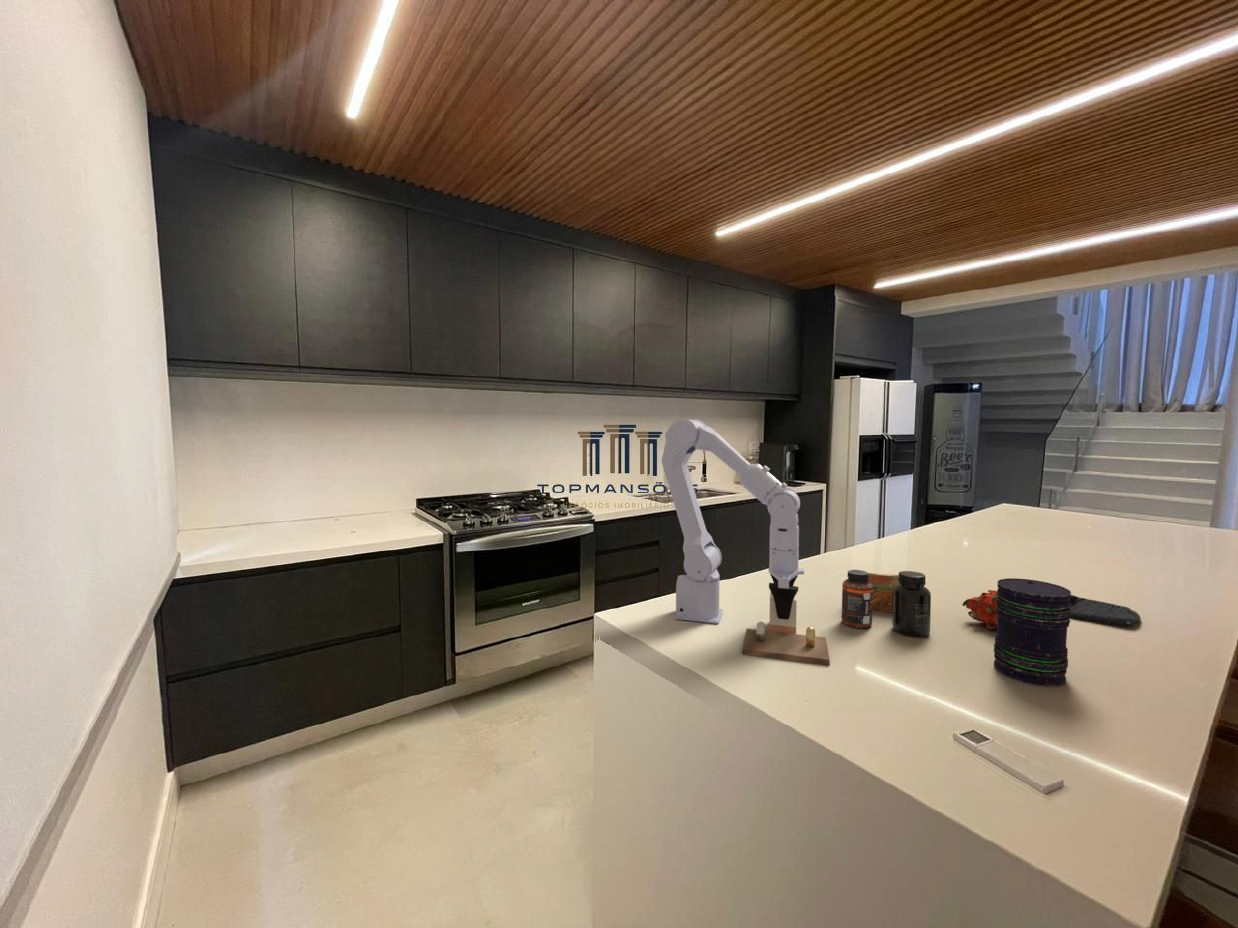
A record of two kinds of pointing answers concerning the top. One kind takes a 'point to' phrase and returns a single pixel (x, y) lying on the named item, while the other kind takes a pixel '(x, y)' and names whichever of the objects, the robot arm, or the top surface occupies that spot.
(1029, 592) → the dark blue cylinder
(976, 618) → the dragon fruit
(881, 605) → the tin
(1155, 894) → the top surface
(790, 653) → the board
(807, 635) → the brass pin
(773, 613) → the sleeve
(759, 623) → the steel pin
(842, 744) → the top surface
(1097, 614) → the dark slate chunk
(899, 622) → the supplement bottle
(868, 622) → the supplement bottle
